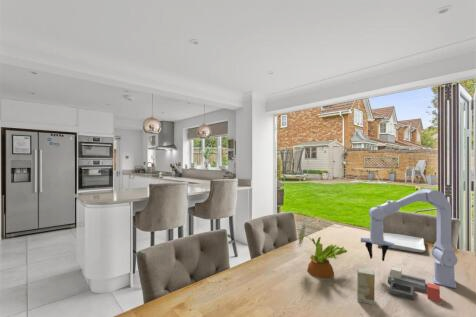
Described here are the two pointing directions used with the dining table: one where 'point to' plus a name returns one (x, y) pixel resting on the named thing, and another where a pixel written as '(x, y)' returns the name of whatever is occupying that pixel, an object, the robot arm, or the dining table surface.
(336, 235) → the dining table surface
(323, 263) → the decorative plant
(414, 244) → the square plate
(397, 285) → the grey square frame
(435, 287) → the red block
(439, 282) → the robot arm
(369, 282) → the skincare box
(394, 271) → the block
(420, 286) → the breaker panel
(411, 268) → the dining table surface
